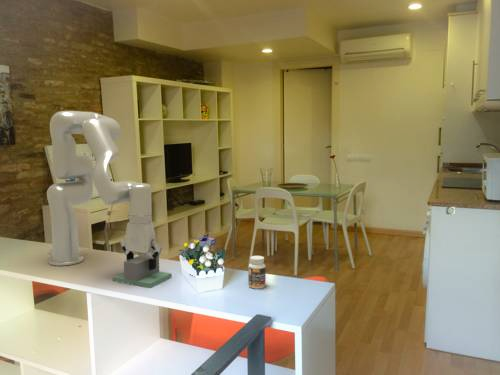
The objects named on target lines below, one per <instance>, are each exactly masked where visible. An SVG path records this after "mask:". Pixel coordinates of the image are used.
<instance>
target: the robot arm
mask: <svg viewBox="0 0 500 375" xmlns="http://www.w3.org/2000/svg"><path fill="white" fill-rule="evenodd" d="M49 133H50V137H51V146H52V147H51V172H52V175H53V177H54V178H56V179H58V180H70V179H71V181H63V182H55V183H53V184H51V185H50V186H49V187H48V189H47V191H46V198H47V203H48V206H49V212H50V222H51V225H50V226H51V240H52V243H51V244H52V248H50V251H47V255H51V258H50V259H49V260H48V262H49V264H50V265H51V266H58V267H60V266H62V267H63V266H72V265H77V264H79V263H81V262H83V261H84V256H83V255H80V249H79V248H80V247H79V225H78V216H77V215H78V214H77V213H76V210H74V208H73V207H72V206H77V205H83V204H87V203H89V202H90V201H91V200H92V197H93V192H94V187H95V188H96V191H97V192H98V196H99V197H100V199H101V200H102V201H103V203H105V204H107V205H109V206H113V205H119V204H125V203H128V214H127V219H128V220H129V222H127V224H126V229H125V236H124V237H125V238H124V239H122V240H121V241H119V242H120V245H121V248H122V250H123V252H124V255H126V258H125V259H126V261H127V260H130V259H132V258H135V254H134V253H137V254H141V255H143V254H146V253H147V254H148V255H149V257H150V259H149V270H153V269H155V268H156V258H157V257H158V255H159V256H160V254H161V253H162V250H163V246H162V245H161V244H159V243H158V241H156V232H155V227H154V223H153V220H152V219H153V216H152V214H153V213H152V212H153V211H152V208H153V207H152V204H153V203H152V186H151V185H150V184H149V183H145V182H138V181H133V180H125V181H124V180H123V181H115V182H113V181H112V180H111V177H110V175H109V174H108V173H109V172H108V165H110V164H111V163H113V162H114V161H116V160H117V159H118V158H119V156H120V153H119V150H118V148H117V146H116V144H115V142H114V141H118V140H119V138H120V137H121V134H122V128H121V126H120V124H119V123H118V121H117V120H115V119H114V118H112V117H109V116H105V115H103V114H100V113H98V112H93V111H82V110H81V111H78V110H60V111H57V112H56V113H54V114H53V115H52V116H51V119H50V122H49ZM73 135H82V136H83V137H84V139H85V141H86V144H87V145H88V146H87V147H88V148H89V150H90V152H91V154H92V156H93V158H94V160H95V165H94V164H93V160H92V159H91V158H90V156H88V155H87V154H85V153H77V143H76V140H75V139H74V136H73ZM72 179H75V180H73V181H72ZM152 254H153V255H152Z"/></svg>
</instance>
